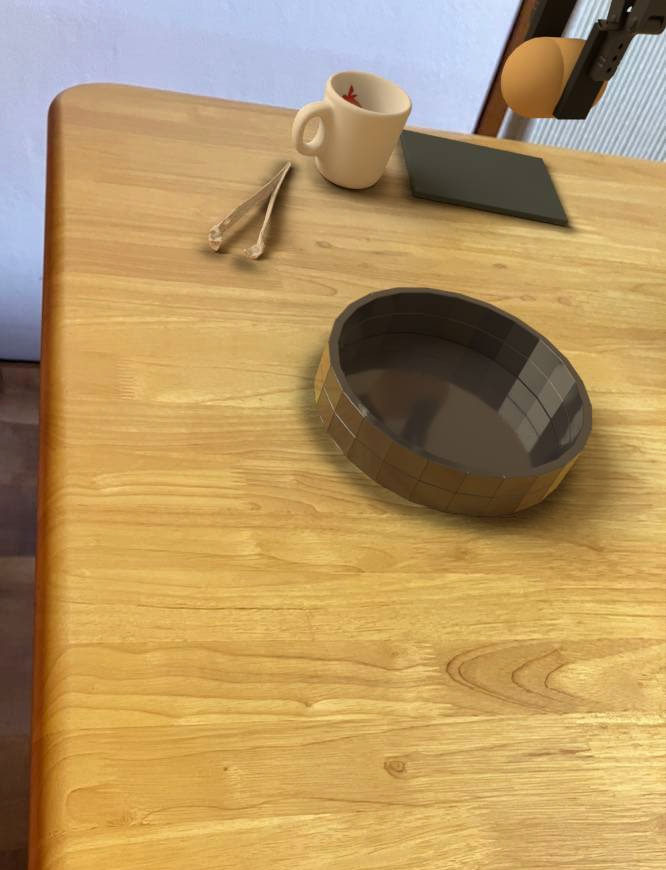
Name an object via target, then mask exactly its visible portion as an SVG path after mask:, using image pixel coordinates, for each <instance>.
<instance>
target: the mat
mask: <svg viewBox="0 0 666 870" xmlns="http://www.w3.org/2000/svg"><path fill="white" fill-rule="evenodd" d="M399 140H400V143H401V147H402V151H403V157H404V160H405V166H406V171H407V174H408V178H409V182H410V188H411V192H412V197H416V198H420V199H426V200H430V201H436V202H440V203H441V202H442V203H446V204H452V205H455V206H461V207H466V208H471V209H472V208H473V209H477V210H482V211H486V212H491V213H496V214H501V215H507V216H511V217H519V218H522V219H527V220H533V221H538V222H544V223H548V224H552V225H559V226H562V227H566V226H567V224H568V222H569V220H568V217H567V215H566V213H565V211H564V208H563V205H562V203H561V200H560V198H559V195H558V193H557V191H556V187H555V186H554V184H553V180H552V179H551V176H550V174H549V171H548V170H547V166H546V164H545V162H544V161H545V160H543V159H544V158H542V157H539V156H538V157H537V156H534V155H533V156H532V155H528V154H523V153H519V152H513V151H509V150H504V149H499V148H494V147H489V146H485V145H481V144H475V143H470V142H466V141H463V140H462V141H461V140H456V139H451V138H447V137H442V136H437V135H432V134H427V133H423V132H419V131H414V130H408V129H404V128H403V130H402V133H401V135H400V137H399Z"/></svg>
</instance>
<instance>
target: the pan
mask: <svg viewBox="0 0 666 870" xmlns="http://www.w3.org/2000/svg"><path fill="white" fill-rule="evenodd" d="M326 341H327V342H326V344H325V348H324V351H323V353H322V356H321V360H320V362H319V365H318V368H317V371H316V374H315V377H314V381H313V385H314V386H313V387H314V399H315V406H316V409H317V412H318V415H319V418H320V420H321V422H322V424H323V426H324V428H325V430H326V432H327V434H328V435H329V437H330V438H331V440H332V442H334V444H335V446H336V447H337V448H338V449H339V450H340V451H341V452H342V454H343V455H344V456H345V457H346V458H347V460H349V461H350V462H351V463H352V464H354V465H355V467H357V468H358V470H360V471H361V472H362V473H364V474H365V475H366V476H367V477H369V478H371V480H373V481H374V482H376V483H377V484H378V485H381V486H382V487H383V488H385V489H388V491H390V492H393V493H395V494H396V495H398V496H401V497H403V498H405V499H406V500H409V501H411V502H413V503H416V504H419V505H422V506H423V507H427V508H430V509H434V510H438V511H441V512H445V513H449V514H455V515H461V516H471V517H496V516H503V515H509V514H515V513H517V512H521V511H524V510H526V509H529V508H530V507H533V506H535V505H538V504H539V503H541V502H542V501H543V500H544V499H545V498H547V497H548V496H549V495H550V494H551V493H552V492H553V491H555V490H556V489H557V488H558V486H559V485H560V484H561V482H562V481H563V479H564V478H565V477H566V475H567V474H568V472H569V471H570V469H571V468H572V467H573V465H574V464H575V462H576V461H577V460H578V458H579V457H580V456H581V454H582V453H583V451H584V449H585V447H586V445H587V443H588V440H589V438H590V436H591V433H592V431H593V405H592V402H591V399H590V397H589V394H588V391H587V388H586V385H585V383H584V381H583V379H582V378H581V376H580V375H579V374H578V372H577V371H576V369H575V367H574V366H573V365H572V363H571V361H570V360H569V359H568V358H567V356H565V354H564V353H562V352H561V350H560V349H558V348H557V347H556V346H555V345H554V343H552V342H551V341H550V340H549V339H548V338H547V337H545V336H544V335H543V334H542V333H541V332H539V331H537V330H536V329H535V328H533V327H532V326H531V325H529V324H528V323H526V322H525V321H523V320H522V319H521V318H519V317H517V316H516V315H514V314H512V313H510V312H507V311H506V310H505V309H502V308H500V307H498V306H496V305H494V304H492V303H490V302H487V301H484V300H481V299H477V298H476V297H472V296H469V295H465V294H463V293H460V292H456V291H451V290H445V289H439V288H433V287H425V286H402V287H401V286H398V287H397V286H395V287H391V288H386V289H381V290H377V291H372V292H370V293H367V294H366V295H363V296H361V297H360V298H358V299H356V300H354V301H352V302H350V303H349V304H348V305H347V306H346V307H345V308H344V310H342V311H341V313H340V314H339V315H337V317H336V318H335V319H334V321H333V324H332V327H331V330H330V333H329V336H328V339H327V340H326Z"/></svg>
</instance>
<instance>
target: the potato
mask: <svg viewBox="0 0 666 870" xmlns="http://www.w3.org/2000/svg"><path fill="white" fill-rule="evenodd" d="M586 40H587V39H584V38H578V37H575V38H574V37H561V38H558V37H540V38H534V39H531V40H528V41H526V42H524V43H523V42H522V43H523V44H522V43H521V44H520V45H518V46H517V47H516V48H515V49H514V50H513V51H512V52H511V54H510V55H509V56H508V57H507V59H506V61H505V63H504V66H503V69H502V72H501V77H500V90H501V94H502V95H501V96H502V97H503V100H504V102H505V104H506V106H507V107H508V108H509V109H510V110H511V111H513V112H514V113H515V114H516V115H518V116H521V117H523V118H528V119H556V118H555V117H554V116H553V115H552V113H553V111H554V109H555V107H556V105H557V103H558V101H559V99H560V97H561V95H562V93H563V90H564V88H565V85H566V83H567V81H568V79H569V77H570V75H571V73H572V70H573V68H574V66H575V64H576V62H577V60H578V57H579V55H580V53H581V51H582V49H583V47H584V45H585V42H586ZM608 83H609V81H604V83H603V85H602V87H601V89H600V91H599V93H598V95H597V97H596V99H595V101H594V103H593V106H592V108H591V109H593V108H594V107H595V106H596V105H597V104H598V103H599V102H600V101H601V99H602V97H603V95H604V94H605V92H606V90H607V86H608Z"/></svg>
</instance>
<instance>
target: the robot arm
mask: <svg viewBox="0 0 666 870" xmlns="http://www.w3.org/2000/svg"><path fill="white" fill-rule="evenodd" d="M577 1H578V0H535V2H534V4H533V6H532V9H531V11H530V14H529V20H528V23H529V24H530V25H529V27H528V29H527V31H526V34H525V36H524V39H523V41H522V43H521V44H523V43H524V42H526V41H528V40H531V39H534V38H540V37H558V38H562V36H563V34H564V31H565V29H566V27H567V24H568V23H569V20H570V17H571V15H572V14H573V11H574V9H575V7H576V4H577ZM629 9H630V11H628V10H629ZM665 30H666V0H611V1H610V5H609V8H608V12H607V14H606V18H597V22H594V23H593V24H592V27H591V30H590V32H589V34H588V36H587V39H585V40H586V42H585V45H584V47H583V49H582V51H581V53H580V55H579V57H578V60H577V62H576V64H575V66H574V68H573V70H572V73H571V75H570V77H569V79H568V81H567V83H566V85H565V88H564V90H563V93H562V95H561V97H560V99H559V101H558V103H557V105H556V107H555V109H554V111H553V113H552V115H553V116H554V117H555V118H554V119H556V120H557V121H586V119H587V117H588V115H589V114H590V111H591V110H592V109H593V108H592V106H593V103H594V101H595V99H596V97H597V95H598V93H599V91H600V89H601V87H602V85H603V83H604V81H608V82H609V81H611V80H612V78H613V77H614V76H615V75H616V72H617V70H618V69H619V66H620V64H621V61H622V60H623V58H624V56H625V54H626V52H627V50H628V49H629V46H630V44H631V42H632V41H633V39H634V38H635V37H636V36H637V35H647V36H648V35H649V36H650V35H651V36H652V35H653V36H659V35H662V34H663V33H664V32H665Z"/></svg>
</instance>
